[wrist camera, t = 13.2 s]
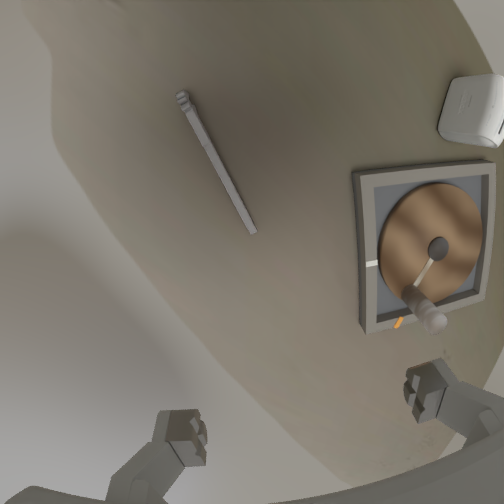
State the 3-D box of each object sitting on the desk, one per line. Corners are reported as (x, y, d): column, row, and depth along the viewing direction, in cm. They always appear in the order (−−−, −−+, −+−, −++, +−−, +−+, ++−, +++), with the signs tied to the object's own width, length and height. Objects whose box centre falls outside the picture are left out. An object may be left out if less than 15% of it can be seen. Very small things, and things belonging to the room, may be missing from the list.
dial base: (351, 172, 41) (360, 176, 38) (483, 159, 40) (496, 162, 37) (359, 324, 50) (366, 336, 47) (474, 292, 49) (484, 301, 46)
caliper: (180, 96, 37) (170, 90, 31) (188, 92, 37) (179, 86, 31) (250, 233, 44) (252, 250, 38) (258, 230, 44) (261, 247, 38)
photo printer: (450, 74, 35) (504, 67, 24) (470, 88, 36) (524, 87, 25) (432, 132, 39) (487, 139, 27) (452, 145, 40) (507, 156, 28)
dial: (418, 157, 39) (464, 169, 29) (492, 219, 43) (534, 241, 33) (353, 274, 45) (381, 313, 35) (436, 314, 48) (467, 350, 39)
